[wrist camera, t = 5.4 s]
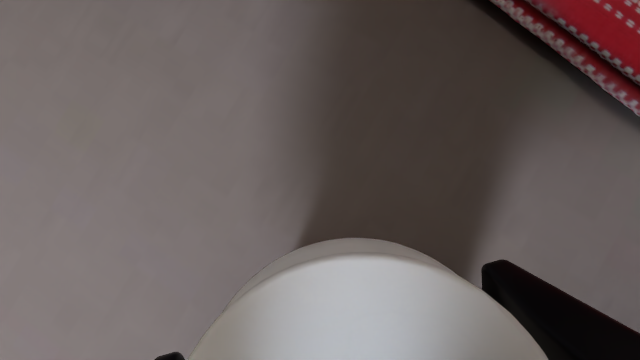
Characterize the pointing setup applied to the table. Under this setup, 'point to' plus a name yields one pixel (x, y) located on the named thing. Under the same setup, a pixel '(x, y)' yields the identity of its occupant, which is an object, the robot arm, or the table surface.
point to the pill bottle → (363, 310)
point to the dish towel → (589, 39)
